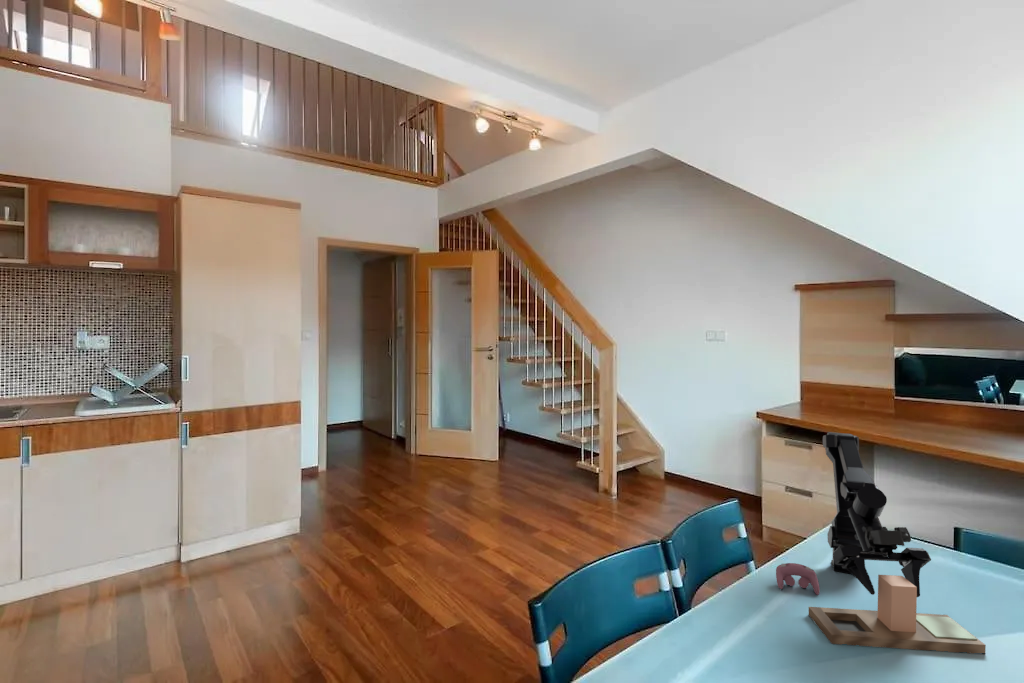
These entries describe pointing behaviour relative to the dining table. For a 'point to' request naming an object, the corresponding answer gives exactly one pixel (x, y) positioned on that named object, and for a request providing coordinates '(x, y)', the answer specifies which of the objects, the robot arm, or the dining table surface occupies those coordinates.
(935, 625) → the board
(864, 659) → the dining table surface
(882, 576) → the block
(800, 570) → the video game controller
